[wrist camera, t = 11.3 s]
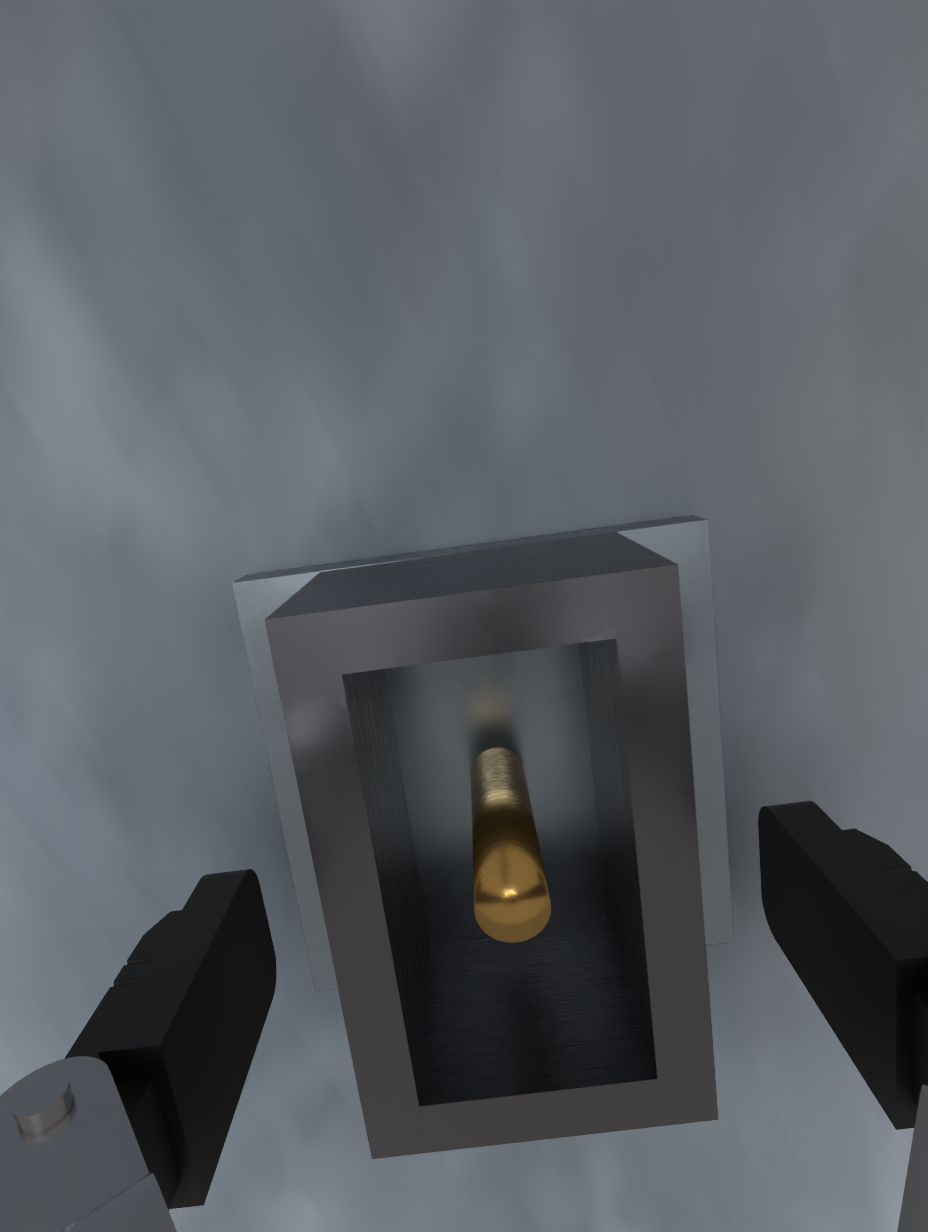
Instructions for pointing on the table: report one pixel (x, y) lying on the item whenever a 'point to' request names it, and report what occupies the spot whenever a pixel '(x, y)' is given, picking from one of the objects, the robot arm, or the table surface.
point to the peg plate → (504, 764)
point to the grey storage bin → (559, 955)
